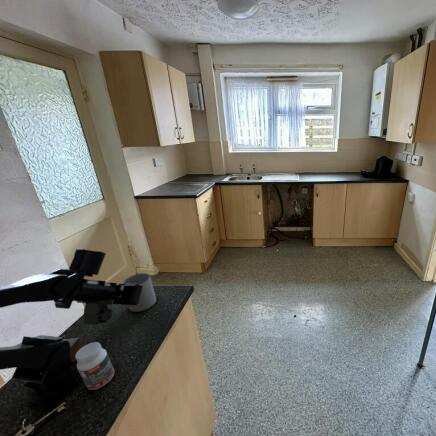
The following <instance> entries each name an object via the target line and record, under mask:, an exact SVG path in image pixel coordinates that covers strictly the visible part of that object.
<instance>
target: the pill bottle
mask: <svg viewBox="0 0 436 436" xmlns="http://www.w3.org/2000/svg"><path fill="white" fill-rule="evenodd" d="M75 357H76V360H75V361H76V362H77V363H76V369H77V371H78V372H79V375H80V376H81V378H82V381H83V383H84V385H85V386H86V389H88V390H93V391H94V390H98V389H100V388H102V387H104V386H105V385H107V384H108V383H110V381H111V380H112V379H113V377H114V375H115V368H114V365H113V364H112V361H111V358H110V357H109V354H108V352H107V350H106V349H104V348H103V347H102V345H101V343H100V342H98V341H94V342H89V343H88V344H86V345H83V347H82V348H81V349H80V350H79V351H78V352H77V353H76V355H75Z"/></svg>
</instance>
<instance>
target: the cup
mask: <svg viewBox="0 0 436 436" xmlns="http://www.w3.org/2000/svg"><path fill="white" fill-rule="evenodd" d="M127 283H139V284H142V285H143V287H142V291H141V295H140V298H139V302H138V304H137V305H127V306H128V308H129V310H130V311H131V312H143V311H146V310H147V309H149V308H151V307H153V305H155V303H156V302H157V297H156V294H155V289H154V284H153V282H152V278H151V274H149V273H147V272H141V273H136V274H133V275H130V276H128V277H126V278H125V279H124V280H123V281H122V282H121V284H127Z"/></svg>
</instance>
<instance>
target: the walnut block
mask: <svg viewBox="0 0 436 436" xmlns="http://www.w3.org/2000/svg"><path fill="white" fill-rule="evenodd" d="M63 341H68V342H70V346H71V349H70V364H74V363H75V362H76V361H77V360H76V357H75V355H76V353H77V352H78V351H79V350H80V349H81V348H82V347H84V345H83V342H82V341H81V339H80V337H74V338H64V339H63Z"/></svg>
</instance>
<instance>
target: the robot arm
mask: <svg viewBox="0 0 436 436" xmlns="http://www.w3.org/2000/svg"><path fill="white" fill-rule="evenodd" d="M106 255H107V253H106V252H104V251H99V250H98V251H97V250H89V249H84V248H76V250H75V251H74V255H73V258H72V260H71V263H70V265H69V268H58V269H56V270H53V271H51V272H48V273H37V274H34V275H31V276H28V277H25V278H22V279H20V280H17V281H15V282H13V283H9V284H6V285H0V308H1V309H3V308H6V307H10V306H14V305H18V304H24V303H41V302H50V301H51V302H52V301H53V302H54V306H55V308H56V309H66V310H69V309H71V307H72V304H73V302H76V303H78V304H85V306H84V308H83V323H84V325H96V326H97V325H99V324H106V323H107V322H108V321H110V320H111V319H112V318H113V310H112V309H111V308H109V305H122V306H128V305H137V304H138V302H139V298H140V295H141V291H142V287H143V285H142V284H139V283H127V284H122V283H117V282H107V281H106V280H94V279H88V278H93V277H94V276H98V275H99V274H100V271H101V268H102V265H103V263H104V260H105V257H106ZM85 277H87V278H85ZM63 339H65V337H62V336H53V335H45V334H40V335H37V336H27V335H23V337H22V341H21V342H20V343H18V344H15V345H11V346H0V371H1V370H2V371H3V370H7V369H14V372H13V373H12V376H11V379H12V380H14V381H16V382H23V383H25V384H23V387H24V388H25V390H26V392H27V393H28V394H29V396H30V398H31V399H30V400H29V402H30V403H31V404H33V405H35V406H39V407H42V408H45V409H48V410H50V409H52V408H53V407H54V406H55V405H57V403H58V402H59V401H60V400H62V399H63V398H64V397H65V396H66V395H67V394H68V393H69V392H70V391H72V390H73V388H74V387H75V386H77V384H78V383H79V382H80V380H79V379H78V378H75V377H76V375H75V373H74V372H73V371H74V370H73V369H72V368H71V363H70V349H71V346H70V342H68V341H63Z"/></svg>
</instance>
